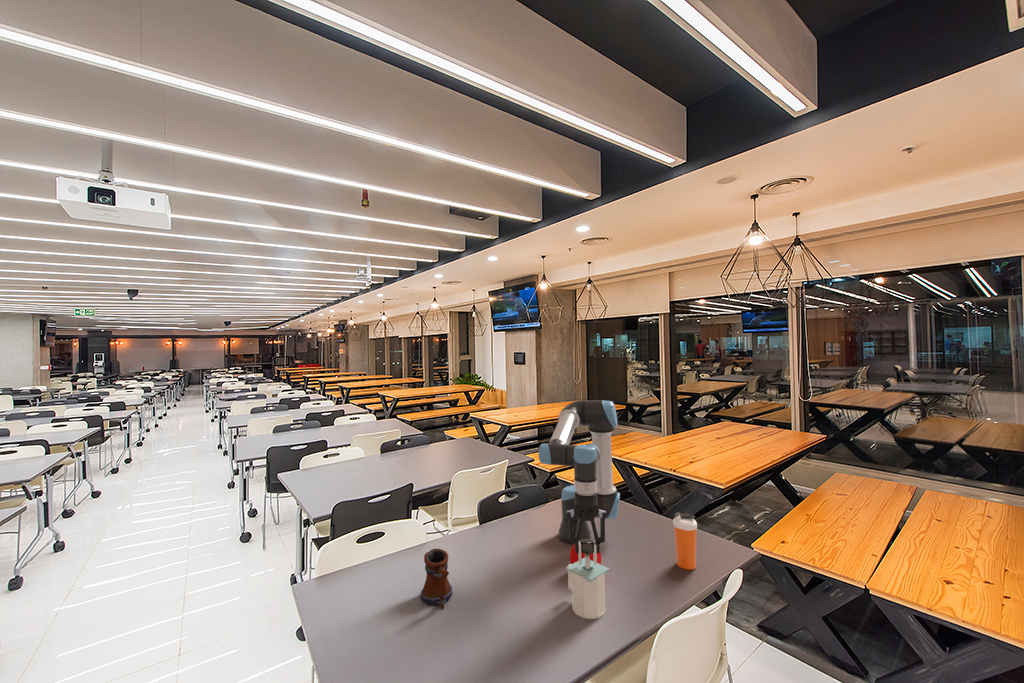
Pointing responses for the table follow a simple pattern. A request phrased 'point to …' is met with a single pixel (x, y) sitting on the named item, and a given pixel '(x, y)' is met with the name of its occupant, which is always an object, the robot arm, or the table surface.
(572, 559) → the tomato
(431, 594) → the mug
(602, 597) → the press pot
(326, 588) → the table surface
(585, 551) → the plunger
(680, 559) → the shaker bottle
